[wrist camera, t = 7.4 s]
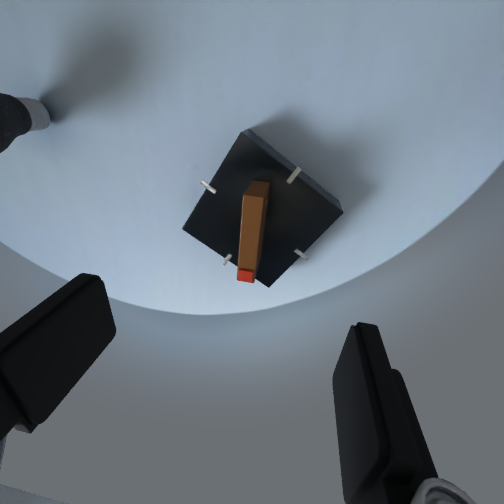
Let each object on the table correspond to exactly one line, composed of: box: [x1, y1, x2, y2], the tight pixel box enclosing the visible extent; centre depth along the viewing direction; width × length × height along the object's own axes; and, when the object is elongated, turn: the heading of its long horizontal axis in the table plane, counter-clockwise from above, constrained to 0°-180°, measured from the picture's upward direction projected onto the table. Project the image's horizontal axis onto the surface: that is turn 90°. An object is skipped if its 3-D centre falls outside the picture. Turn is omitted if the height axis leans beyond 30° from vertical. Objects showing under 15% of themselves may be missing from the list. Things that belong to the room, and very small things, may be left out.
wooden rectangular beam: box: [237, 180, 270, 283], centre depth 20 cm, size 7×1×4 cm, turn 175°
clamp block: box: [182, 129, 343, 287], centre depth 23 cm, size 11×11×3 cm
